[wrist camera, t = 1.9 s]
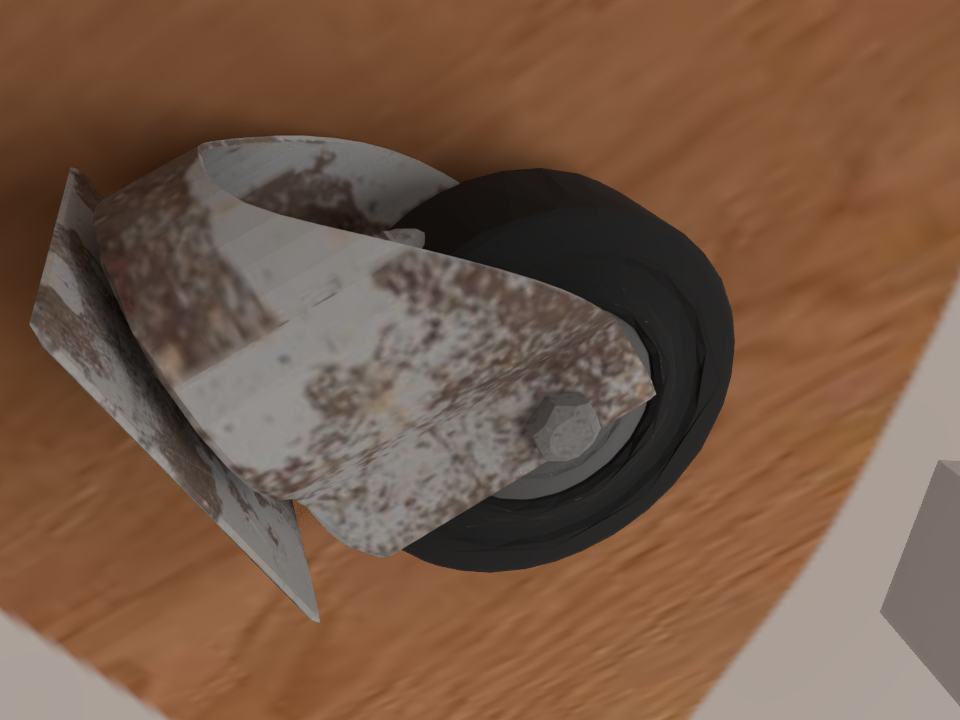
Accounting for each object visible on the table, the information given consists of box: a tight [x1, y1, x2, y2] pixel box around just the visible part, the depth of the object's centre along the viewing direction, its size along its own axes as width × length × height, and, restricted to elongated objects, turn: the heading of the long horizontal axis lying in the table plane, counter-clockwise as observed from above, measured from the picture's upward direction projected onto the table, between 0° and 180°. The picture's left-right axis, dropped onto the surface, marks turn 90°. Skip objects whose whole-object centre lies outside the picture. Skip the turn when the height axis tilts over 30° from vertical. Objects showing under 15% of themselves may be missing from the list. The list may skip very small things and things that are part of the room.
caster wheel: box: [29, 136, 735, 623], centre depth 15 cm, size 7×11×10 cm
